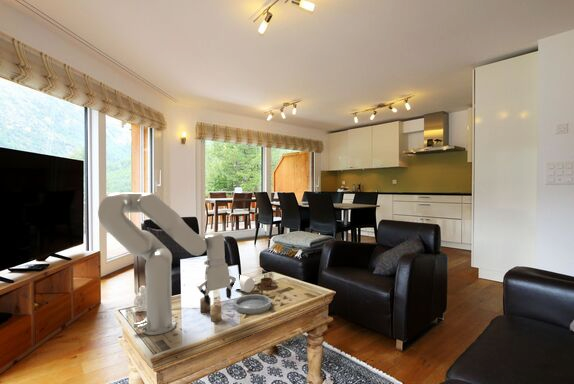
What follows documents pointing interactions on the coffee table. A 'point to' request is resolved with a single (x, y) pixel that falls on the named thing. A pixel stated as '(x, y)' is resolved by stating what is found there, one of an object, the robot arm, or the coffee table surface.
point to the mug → (246, 283)
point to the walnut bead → (205, 306)
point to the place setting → (265, 284)
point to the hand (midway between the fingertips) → (218, 300)
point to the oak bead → (215, 312)
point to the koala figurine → (141, 299)
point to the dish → (252, 304)
